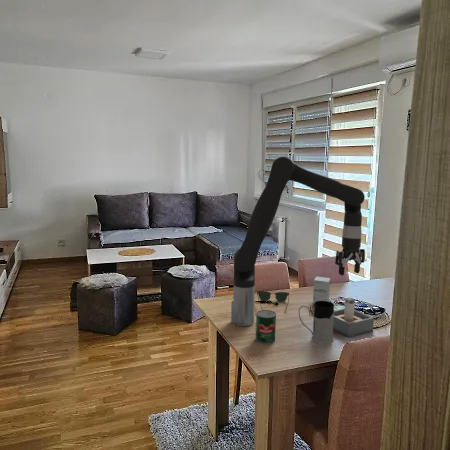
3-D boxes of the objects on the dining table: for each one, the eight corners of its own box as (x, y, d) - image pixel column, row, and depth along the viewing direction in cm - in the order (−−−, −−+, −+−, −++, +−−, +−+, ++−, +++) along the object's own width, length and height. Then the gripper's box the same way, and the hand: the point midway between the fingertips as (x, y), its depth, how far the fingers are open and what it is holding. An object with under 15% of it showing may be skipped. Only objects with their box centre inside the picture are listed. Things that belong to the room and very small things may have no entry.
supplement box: (312, 304, 203) (313, 279, 201) (314, 299, 210) (315, 276, 208) (327, 306, 200) (328, 281, 198) (329, 301, 207) (330, 277, 205)
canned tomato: (261, 345, 157) (262, 318, 155) (252, 337, 164) (252, 311, 162) (279, 341, 160) (279, 315, 158) (269, 334, 167) (269, 308, 166)
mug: (334, 345, 158) (336, 308, 155) (297, 342, 160) (299, 306, 158) (332, 335, 166) (334, 300, 164) (297, 333, 168) (298, 298, 166)
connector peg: (348, 328, 171) (349, 301, 169) (341, 325, 174) (342, 298, 173) (355, 327, 173) (356, 300, 171) (348, 323, 176) (349, 297, 174)
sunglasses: (256, 312, 192) (256, 302, 192) (256, 300, 209) (256, 290, 208) (291, 313, 191) (291, 303, 190) (288, 301, 208) (289, 292, 207)
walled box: (348, 337, 164) (349, 323, 163) (324, 325, 177) (325, 312, 176) (372, 331, 171) (373, 317, 170) (348, 319, 183) (349, 307, 182)
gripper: (345, 238, 162) (342, 278, 164) (371, 236, 168) (368, 274, 171) (332, 235, 168) (330, 273, 171) (357, 233, 175) (354, 269, 177)
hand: (349, 273), depth 171 cm, fingers open, 8 cm apart
